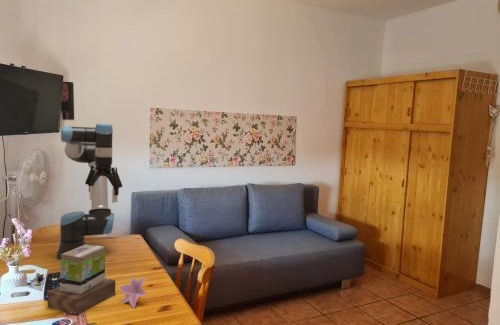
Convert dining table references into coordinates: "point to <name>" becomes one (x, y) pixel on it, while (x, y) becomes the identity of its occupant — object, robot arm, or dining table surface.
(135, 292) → the lily
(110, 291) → the walnut block
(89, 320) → the dining table surface
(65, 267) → the tea box
